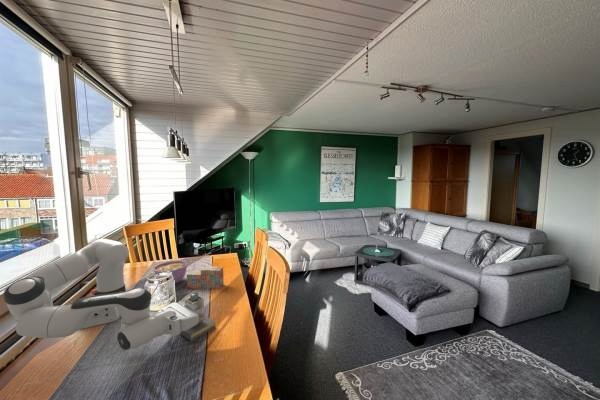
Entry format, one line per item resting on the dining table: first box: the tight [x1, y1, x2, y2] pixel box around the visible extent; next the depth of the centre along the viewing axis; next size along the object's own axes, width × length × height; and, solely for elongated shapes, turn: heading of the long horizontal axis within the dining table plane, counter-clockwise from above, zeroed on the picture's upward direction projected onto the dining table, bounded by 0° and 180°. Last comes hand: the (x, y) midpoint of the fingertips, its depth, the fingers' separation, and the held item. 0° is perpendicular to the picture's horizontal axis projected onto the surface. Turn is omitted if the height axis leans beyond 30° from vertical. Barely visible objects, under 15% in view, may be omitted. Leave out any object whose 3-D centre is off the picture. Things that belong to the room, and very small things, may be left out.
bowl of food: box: [153, 260, 188, 284], centre depth 164 cm, size 20×20×12 cm
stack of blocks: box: [186, 266, 224, 290], centre depth 158 cm, size 21×6×12 cm, turn 87°
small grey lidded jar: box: [185, 295, 206, 323], centre depth 113 cm, size 6×6×10 cm
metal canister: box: [189, 292, 200, 303], centre depth 113 cm, size 3×3×3 cm
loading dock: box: [179, 315, 217, 342], centre depth 114 cm, size 12×12×3 cm
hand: (196, 306), depth 114 cm, fingers closed on small grey lidded jar, 6 cm apart
